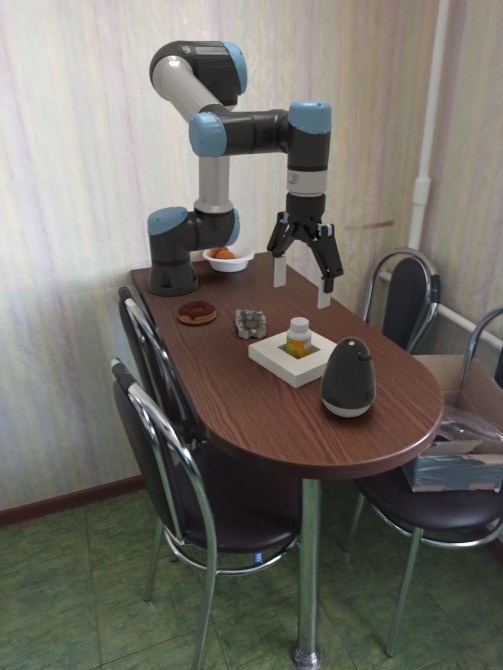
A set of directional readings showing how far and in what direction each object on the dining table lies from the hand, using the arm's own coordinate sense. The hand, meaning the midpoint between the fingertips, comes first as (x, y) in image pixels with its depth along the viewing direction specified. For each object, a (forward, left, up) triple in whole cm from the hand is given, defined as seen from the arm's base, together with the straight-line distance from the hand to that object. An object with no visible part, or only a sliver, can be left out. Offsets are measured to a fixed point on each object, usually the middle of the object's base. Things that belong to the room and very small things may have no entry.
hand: (300, 295), depth 100 cm
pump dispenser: (+19, -5, -16) cm, 26 cm away
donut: (-32, -7, -16) cm, 37 cm away
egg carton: (-19, +1, -16) cm, 25 cm away
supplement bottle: (0, 0, -16) cm, 16 cm away
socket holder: (0, 0, -16) cm, 16 cm away
